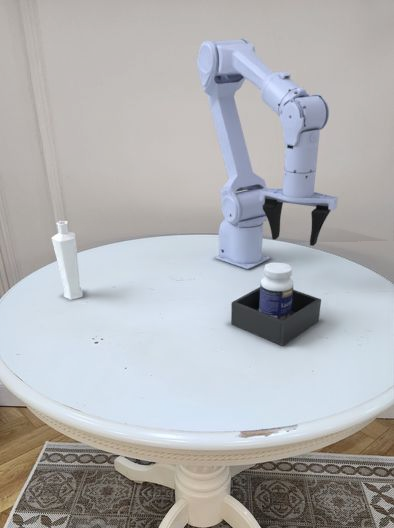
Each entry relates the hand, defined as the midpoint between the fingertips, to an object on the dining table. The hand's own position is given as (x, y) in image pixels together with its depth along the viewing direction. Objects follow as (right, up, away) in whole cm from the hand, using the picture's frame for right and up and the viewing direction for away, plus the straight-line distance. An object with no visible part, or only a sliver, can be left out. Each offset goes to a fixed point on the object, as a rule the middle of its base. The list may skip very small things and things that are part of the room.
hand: (294, 240), depth 104 cm
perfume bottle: (-44, -10, +3) cm, 45 cm away
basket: (-5, -16, -8) cm, 19 cm away
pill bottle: (-5, -16, -8) cm, 18 cm away
